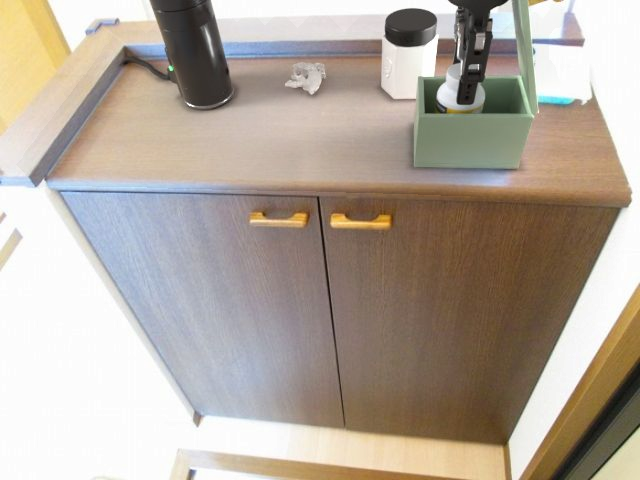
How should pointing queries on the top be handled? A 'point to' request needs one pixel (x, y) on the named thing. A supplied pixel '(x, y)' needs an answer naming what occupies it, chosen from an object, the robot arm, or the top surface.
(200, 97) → the robot arm
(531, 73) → the lid
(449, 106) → the pill bottle
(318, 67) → the pelvis model
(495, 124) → the chest
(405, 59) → the jar
